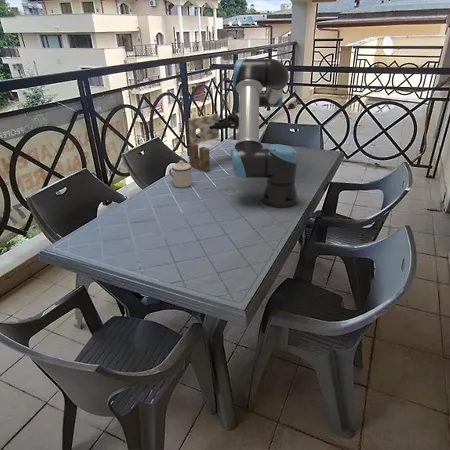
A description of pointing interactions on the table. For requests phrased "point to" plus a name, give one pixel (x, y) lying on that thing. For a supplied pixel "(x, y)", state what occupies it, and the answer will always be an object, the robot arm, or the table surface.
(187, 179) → the teacup with lid
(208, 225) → the table surface
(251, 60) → the robot arm
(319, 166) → the table surface
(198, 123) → the birch board
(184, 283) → the table surface
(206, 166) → the brown wooden u block
